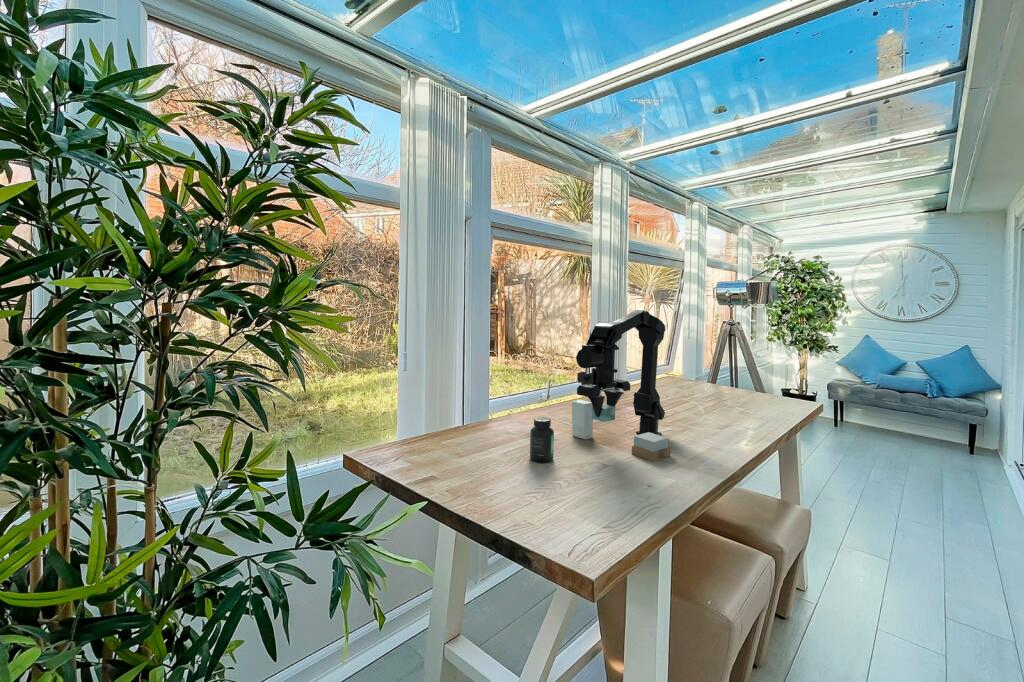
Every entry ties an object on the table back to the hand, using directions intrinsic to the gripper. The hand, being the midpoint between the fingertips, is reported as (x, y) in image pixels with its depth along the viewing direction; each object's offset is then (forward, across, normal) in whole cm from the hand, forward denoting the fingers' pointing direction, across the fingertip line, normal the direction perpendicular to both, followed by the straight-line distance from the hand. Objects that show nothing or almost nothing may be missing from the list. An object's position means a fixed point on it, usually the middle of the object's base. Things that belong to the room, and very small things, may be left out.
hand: (603, 415), depth 141 cm
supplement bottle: (+11, +21, -5) cm, 24 cm away
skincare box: (+11, -5, -13) cm, 18 cm away
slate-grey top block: (+8, -8, +12) cm, 16 cm away
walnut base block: (+11, -8, +12) cm, 18 cm away
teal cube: (+1, 0, 0) cm, 1 cm away
